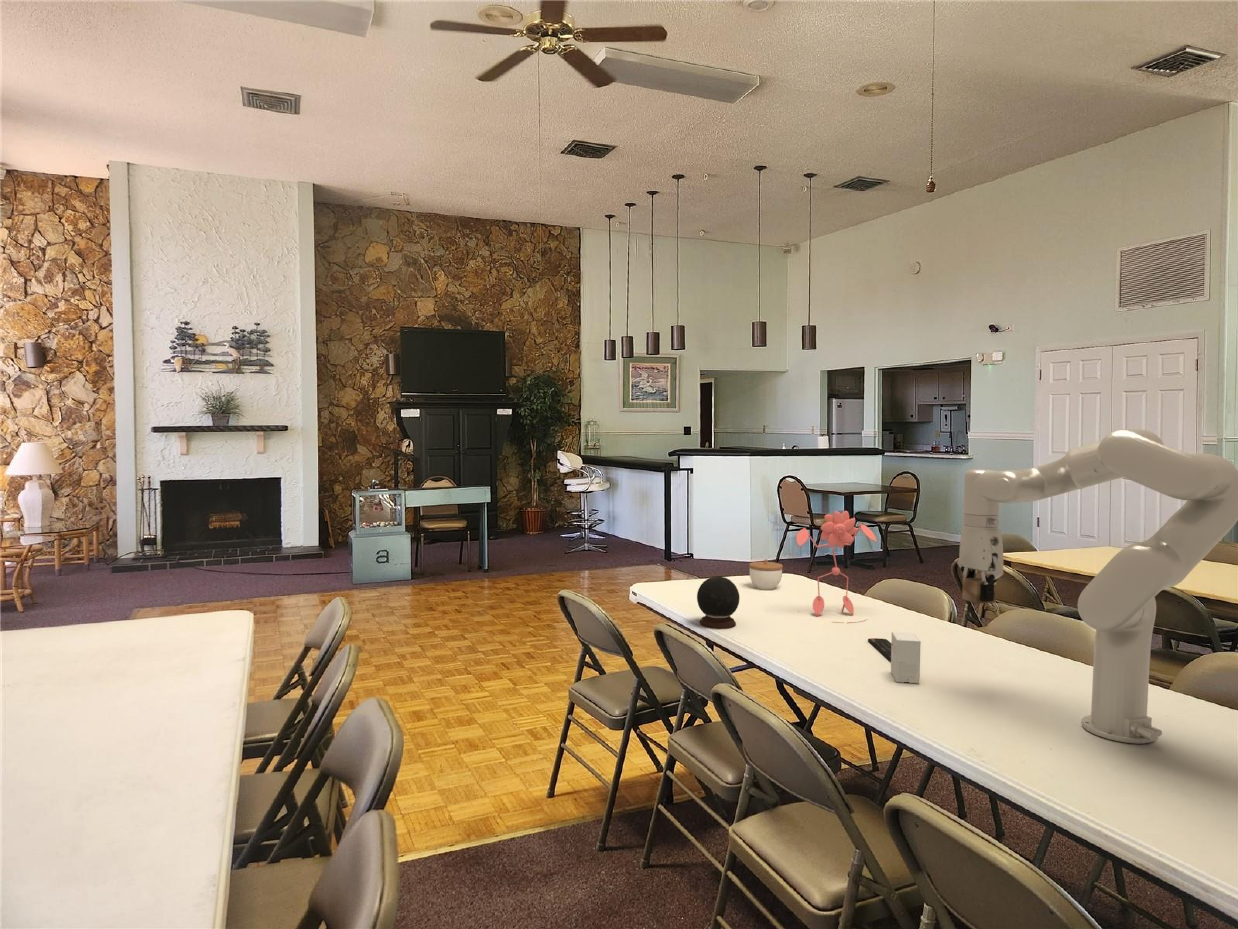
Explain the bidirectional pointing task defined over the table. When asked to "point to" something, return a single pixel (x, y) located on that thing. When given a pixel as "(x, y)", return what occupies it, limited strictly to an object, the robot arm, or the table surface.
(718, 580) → the black ball on stand
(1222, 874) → the table surface
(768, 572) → the lidded bowl
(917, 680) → the small box
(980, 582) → the walnut cube
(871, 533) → the pink flower doll
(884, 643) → the remote control
